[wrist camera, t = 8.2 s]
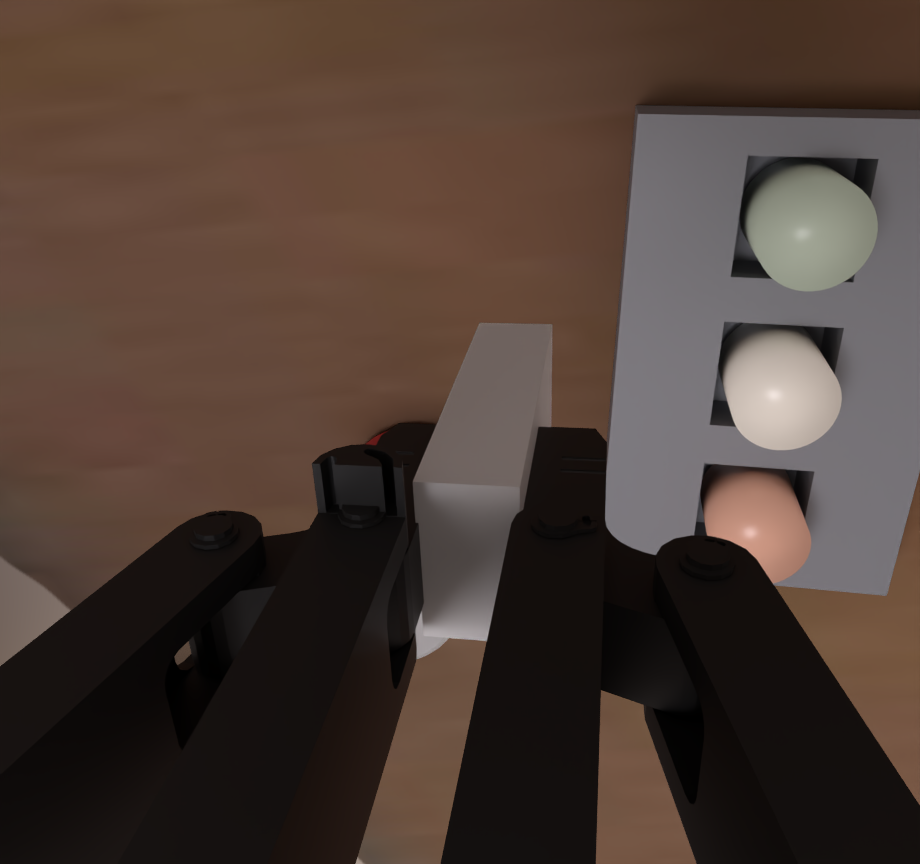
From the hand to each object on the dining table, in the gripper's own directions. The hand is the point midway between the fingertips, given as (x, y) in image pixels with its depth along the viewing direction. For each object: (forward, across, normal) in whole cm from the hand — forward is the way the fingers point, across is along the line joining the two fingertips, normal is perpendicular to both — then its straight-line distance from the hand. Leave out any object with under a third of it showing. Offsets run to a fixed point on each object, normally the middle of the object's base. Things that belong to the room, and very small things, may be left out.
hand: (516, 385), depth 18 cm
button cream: (+23, +9, -8) cm, 26 cm away
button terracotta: (+23, +9, -15) cm, 29 cm away
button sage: (+23, +10, -2) cm, 25 cm away
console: (+25, +9, -8) cm, 28 cm away
